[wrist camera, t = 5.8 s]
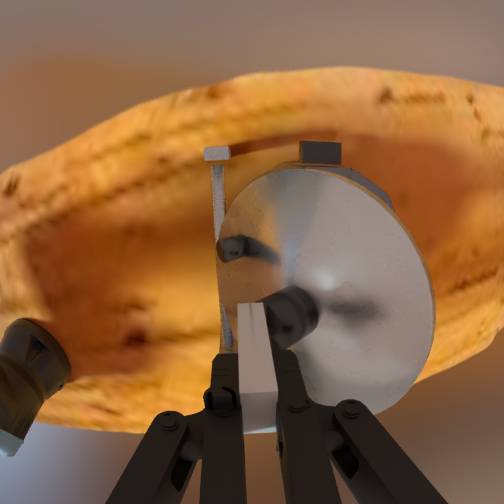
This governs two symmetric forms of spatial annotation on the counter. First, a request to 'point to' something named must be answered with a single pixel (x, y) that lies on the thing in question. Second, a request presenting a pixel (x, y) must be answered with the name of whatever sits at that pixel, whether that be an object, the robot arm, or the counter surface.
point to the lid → (327, 282)
